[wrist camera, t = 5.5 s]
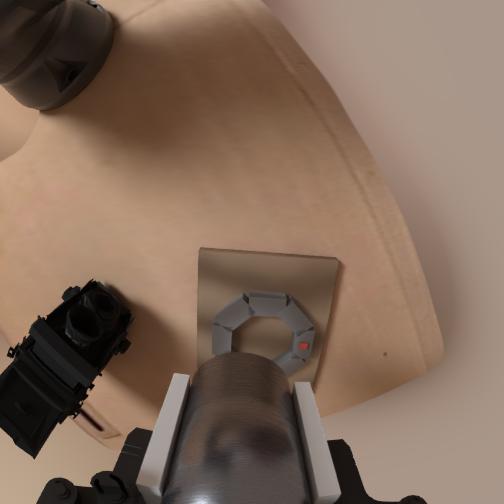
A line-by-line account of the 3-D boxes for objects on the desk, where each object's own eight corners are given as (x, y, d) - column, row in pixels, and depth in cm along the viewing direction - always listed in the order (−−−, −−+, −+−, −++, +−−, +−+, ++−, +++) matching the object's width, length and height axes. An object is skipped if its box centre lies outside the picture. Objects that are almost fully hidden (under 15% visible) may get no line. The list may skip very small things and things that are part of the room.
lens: (188, 345, 13) (123, 546, 3) (299, 352, 13) (353, 554, 3) (191, 422, 14) (161, 576, 4) (282, 428, 14) (302, 583, 4)
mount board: (200, 247, 29) (195, 255, 26) (335, 257, 29) (345, 266, 26) (199, 385, 33) (196, 401, 30) (308, 389, 34) (312, 405, 31)
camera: (157, 312, 31) (78, 452, 11) (105, 371, 33) (40, 481, 13) (93, 253, 29) (-38, 337, 9) (52, 322, 31) (-38, 409, 11)
